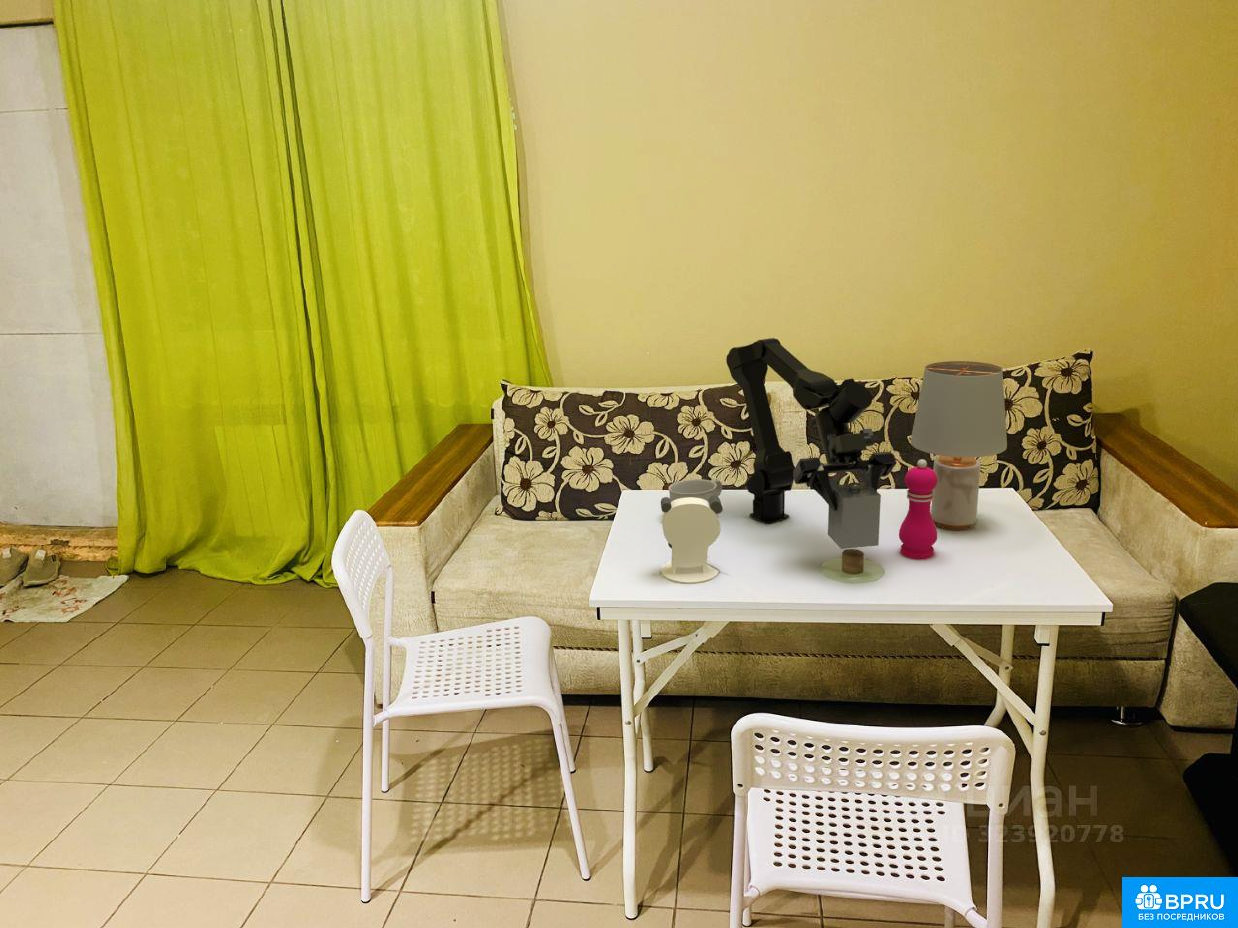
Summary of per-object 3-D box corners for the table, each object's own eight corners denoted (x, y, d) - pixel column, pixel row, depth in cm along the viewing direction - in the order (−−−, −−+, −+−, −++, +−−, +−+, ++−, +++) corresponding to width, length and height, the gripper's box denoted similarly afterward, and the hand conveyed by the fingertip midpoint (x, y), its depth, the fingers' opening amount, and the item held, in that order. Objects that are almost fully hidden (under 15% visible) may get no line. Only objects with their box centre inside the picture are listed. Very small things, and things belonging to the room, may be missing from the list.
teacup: (685, 530, 202) (684, 496, 200) (660, 516, 211) (659, 482, 209) (738, 517, 208) (738, 484, 206) (712, 504, 217) (711, 471, 215)
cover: (827, 534, 179) (829, 479, 175) (863, 531, 179) (866, 476, 176) (841, 548, 172) (843, 492, 168) (878, 545, 173) (881, 488, 169)
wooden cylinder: (852, 564, 180) (852, 547, 179) (867, 570, 177) (868, 553, 176) (837, 569, 178) (837, 552, 177) (852, 576, 175) (853, 559, 174)
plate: (852, 555, 185) (852, 552, 185) (898, 575, 176) (898, 572, 175) (807, 570, 180) (807, 567, 179) (852, 591, 170) (852, 588, 170)
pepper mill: (936, 550, 186) (942, 455, 180) (935, 564, 180) (942, 466, 174) (898, 547, 188) (903, 453, 182) (896, 561, 182) (901, 464, 176)
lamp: (894, 531, 197) (902, 373, 186) (920, 503, 212) (929, 356, 201) (988, 547, 186) (1001, 381, 176) (1008, 516, 201) (1022, 363, 191)
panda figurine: (719, 558, 187) (718, 488, 182) (725, 582, 176) (725, 508, 172) (659, 561, 187) (657, 490, 183) (662, 584, 176) (660, 511, 172)
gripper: (798, 418, 172) (817, 493, 165) (894, 410, 174) (917, 484, 167) (785, 446, 182) (802, 519, 175) (876, 439, 184) (897, 510, 177)
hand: (854, 508), depth 173 cm, fingers closed on cover, 7 cm apart
